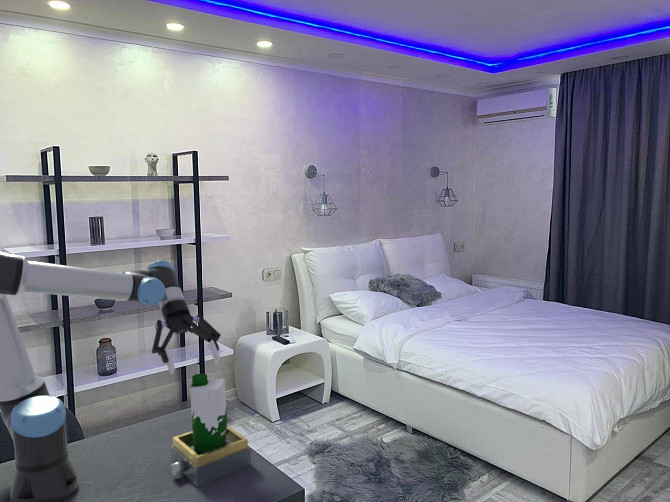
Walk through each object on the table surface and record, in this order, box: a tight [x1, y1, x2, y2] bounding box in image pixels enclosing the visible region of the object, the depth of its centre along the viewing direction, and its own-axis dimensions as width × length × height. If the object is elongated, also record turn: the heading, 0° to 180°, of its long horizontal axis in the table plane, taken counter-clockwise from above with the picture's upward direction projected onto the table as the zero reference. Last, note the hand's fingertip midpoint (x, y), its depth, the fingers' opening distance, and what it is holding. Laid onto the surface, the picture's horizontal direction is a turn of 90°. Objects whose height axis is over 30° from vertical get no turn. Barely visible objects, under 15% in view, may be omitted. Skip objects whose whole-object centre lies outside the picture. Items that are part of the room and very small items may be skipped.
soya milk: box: [189, 373, 228, 451], centre depth 143 cm, size 9×9×20 cm
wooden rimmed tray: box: [169, 425, 252, 488], centre depth 143 cm, size 19×16×8 cm
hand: (196, 366), depth 147 cm, fingers open, 13 cm apart
